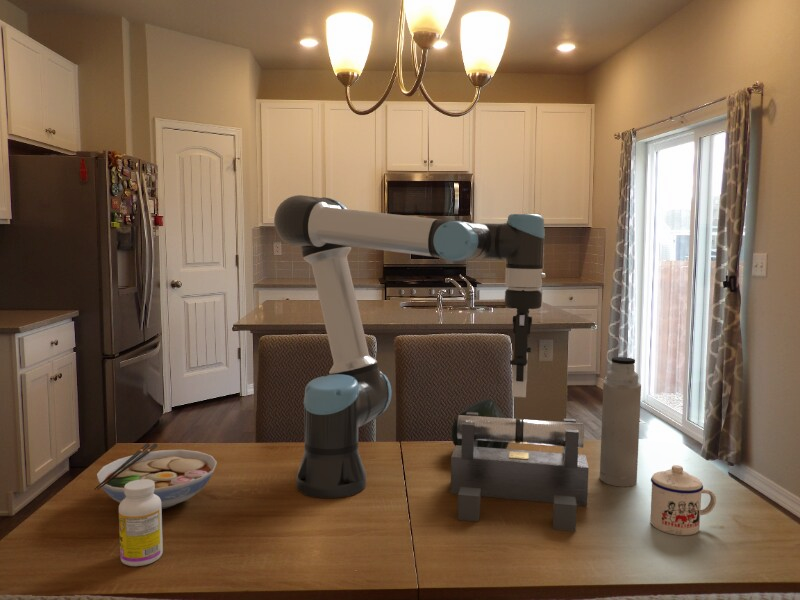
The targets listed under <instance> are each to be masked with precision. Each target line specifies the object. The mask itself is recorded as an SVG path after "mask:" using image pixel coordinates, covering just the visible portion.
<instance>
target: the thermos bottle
mask: <svg viewBox="0 0 800 600" xmlns="http://www.w3.org/2000/svg"><path fill="white" fill-rule="evenodd" d="M635 363H636V359H635V358H632V357H626V356H615V357H612V358H611V365H610V366H611V369H610V370H608V371H607V372H606V376H605V377H606V380H604V381H603V385H602V387H603V388H602V408H601V414H602V415H601V430H600V433H601V435H600V437H601V439H600V459H599V461H600V462H599V479H600V481H602V482H603V483H604V484H607V485H610V486H615V487H621V488H622V487H627V488H628V487H633V486H636V484H637V481H638V463H639V438H640V416H641V396H642V384H641V383H640V382H639V378H640V377H639V373H637V372H636V371H635Z"/></svg>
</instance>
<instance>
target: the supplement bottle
mask: <svg viewBox="0 0 800 600" xmlns="http://www.w3.org/2000/svg"><path fill="white" fill-rule="evenodd" d="M154 490H155V483H154V481H153V480H149V479H140V480H134V481H131V482H129V483H127V484H126V485H125V486H124V493H125V495H126V498H125V499H123V500H122V501H121V503H120V502H119V505H118V528H119V529H118V531H119V532H118V533H119V557H120V561H121V563H122V564H124V565H126V566H129V567H139V566H140V567H142V566H147V565H151V564H152V563H155V562H156V561H158V560H159V559H160V558H161V557H162V555H163V553H164V552H163V551H164V548H163V547H164V546H163V517H162V516H163V514H162V511H163V509H162V507H161V499H160V498H159V497H158V496H157V495H155V494H154Z"/></svg>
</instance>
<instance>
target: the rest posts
mask: <svg viewBox="0 0 800 600" xmlns="http://www.w3.org/2000/svg"><path fill="white" fill-rule="evenodd" d="M481 499H482V496H481V489H479V488H468V487H460V490H459V493H458V494H457V520H459V521H467V522H468V521H469V522H477V521H480V516H481V502H482V501H481ZM552 506H553V509H552V512H553V513H552V524H553V525H552V526H553V527H552V529H553V530H560V531H566V532H567V531H568V532H576V530H577V529H576V528H577V507H578V505H576V499H575V497H570V496H558V495H554V503H552Z"/></svg>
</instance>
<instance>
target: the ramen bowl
mask: <svg viewBox="0 0 800 600" xmlns="http://www.w3.org/2000/svg"><path fill="white" fill-rule="evenodd" d="M157 447H158V443H153V444H152V445H151V444H150V443H149V442H148V443H145V444H144V445H143V446H141V448H140V449H138V450H137V451H136V452H135V453H134V454H132V455H129V456H125V457H120V458H118V459H116V460H114V461H111V462H110V463H107V464H105V465H103V466H102V467H101V468H100V470H99V471H98V472H97V473H96V477H97V482H98V483H99V484H98V485H97V486H96V487H95V488H93V490H94V491H95V490H97V491H98V490H99V489H101V488H102V490H103V491H104V492H105V493H106V494H107V495H108V497H110V498H111V499H112V500H114V501H115V502H117V503H119V504H120V503H121V501H122V500H123V499H125V498H126V495H125V493H124V486H125V485H126V484H127V483H129V482H131V481H134V480H140V479H149V480H153V481H154V483H155V490H154V494H155V495H157V496H158V497H159V498H160V499H161V507H162V510H165V509H168V508H169V509H170V508H172V507H174V506H176V505H178V504H180V503H182V502H184V501H188V500H189V499H191V498H192V497H194V496H195V495H197V494H198V493H199V492H201V491H202V490H203V489H204V487H205V486H206V485H207V484H208V482H209V480H211V478H212V475H213V473H214V471H215V469H216V466H217V463H218V461H217V460H216V459H215V458H214V457H213V455H210V454H207V453H204V452H201V451H198V450H197V451H196V450H189V449H188V450H187V449H168V450H167V449H165V450H164V449H163V450H161V449H160V450H155V449H157ZM153 450H154V451H153Z"/></svg>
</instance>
